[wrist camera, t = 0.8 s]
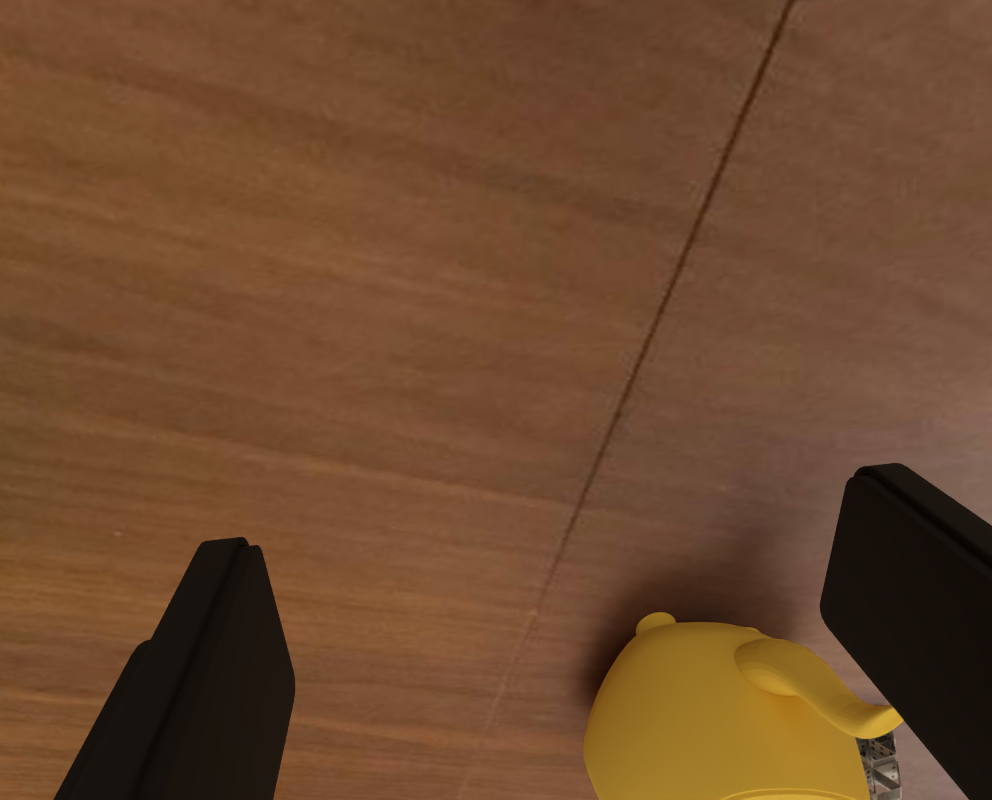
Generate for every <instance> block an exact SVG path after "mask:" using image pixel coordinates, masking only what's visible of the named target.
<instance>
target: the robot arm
mask: <svg viewBox="0 0 992 800" xmlns="http://www.w3.org/2000/svg"><path fill="white" fill-rule="evenodd" d="M820 612H821V615H822V618H823V620H824V623H825V624H826V626H827V627H828V629H829V630H830V631H831V632H832V633H833V635H834V636H835V637H836V638H837V640H838V641H839V642H840V643H841V644H842V646H843V647H844V648H845V649H846V650H847V652H848V653H849V654H850V655H851V657H852V658H853V659H854V660H855V661H856V663H857V664H858V665H859V666H860V668H861V669H862V670H863V671H864V672H865V674H866V675H867V676H868V677H869V678H870V680H871V681H872V682H873V683H874V685H875V686H876V687H877V688H878V689H879V691H880V692H881V693H882V694H883V695H884V697H885V698H886V699H887V700H888V702H889V703H890V704H891V705H892V706H893V708H894V709H895V710H896V711H897V713H898V714H899V715H900V716H901V717H902V719H903V720H904V721H905V722H906V723H907V725H908V726H909V727H910V728H911V730H912V731H913V732H914V733H915V734H916V736H917V737H918V738H919V739H920V741H921V742H922V743H923V744H924V745H925V747H926V748H927V749H928V750H929V751H930V753H931V754H932V755H933V756H934V758H935V759H936V760H937V761H938V762H939V764H940V765H941V766H942V767H943V768H944V770H945V771H946V772H947V773H948V775H949V776H950V777H951V778H952V779H953V781H954V782H955V783H956V784H957V786H958V787H959V788H960V789H961V790H962V792H963V793H964V794H965V795H966V796H967V798H968V799H969V800H992V526H991V525H990V524H989V523H987V522H986V521H984V520H983V519H981V518H980V517H978V516H977V515H976V514H974V513H973V512H971V511H970V510H968V509H967V508H965V507H964V506H963V505H961V504H960V503H958V502H957V501H955V500H954V499H953V498H951V497H950V496H948V495H947V494H945V493H944V492H942V491H941V490H940V489H938V488H937V487H935V486H934V485H932V484H931V483H929V482H928V481H927V480H925V479H924V478H922V477H921V476H919V475H918V474H916V473H915V472H914V471H912V470H911V469H909V468H908V467H906V466H904V465H902V464H900V463H891V464H882V465H873V466H864V467H861V468H859V469H858V470H857V471H856V472H855V474H854V477H852V478H850V479H849V480H848V481H847V483H846V486H845V491H844V495H843V500H842V505H841V509H840V514H839V518H838V523H837V528H836V532H835V537H834V541H833V546H832V550H831V555H830V560H829V564H828V569H827V573H826V578H825V582H824V587H823V592H822V596H821V601H820ZM294 697H295V676H294V671H293V667H292V663H291V660H290V656H289V652H288V648H287V644H286V641H285V637H284V633H283V629H282V625H281V622H280V618H279V614H278V610H277V606H276V602H275V599H274V595H273V591H272V587H271V583H270V580H269V576H268V572H267V568H266V564H265V561H264V557H263V553H262V550H261V548H260V547H259V546H258V545H253V546H249V544H248V542H247V540H246V539H245V538H243V537H237V538H228V539H220V540H211V541H204V542H202V543H201V544H200V546H199V547H198V549H197V551H196V553H195V555H194V557H193V559H192V561H191V563H190V565H189V567H188V568H187V570H186V572H185V574H184V576H183V578H182V580H181V582H180V584H179V586H178V588H177V590H176V592H175V594H174V596H173V598H172V599H171V601H170V603H169V605H168V607H167V609H166V611H165V613H164V615H163V617H162V619H161V621H160V623H159V625H158V627H157V628H156V630H155V632H154V634H153V636H152V638H151V640H147V641H144V642H143V643H141V644H140V645H138V646H137V648H136V649H135V651H134V652H133V653H132V655H131V657H130V658H129V660H128V662H127V664H126V666H125V668H124V670H123V671H122V673H121V675H120V677H119V679H118V681H117V683H116V684H115V686H114V688H113V690H112V692H111V694H110V696H109V697H108V699H107V701H106V703H105V705H104V707H103V709H102V711H101V712H100V714H99V716H98V718H97V720H96V722H95V724H94V725H93V727H92V729H91V731H90V733H89V735H88V737H87V738H86V740H85V742H84V744H83V746H82V748H81V750H80V751H79V753H78V755H77V757H76V759H75V761H74V763H73V764H72V766H71V768H70V770H69V772H68V774H67V776H66V777H65V779H64V781H63V783H62V785H61V787H60V789H59V790H58V792H57V794H56V796H55V798H54V800H273V797H274V792H275V788H276V783H277V778H278V773H279V769H280V764H281V759H282V755H283V750H284V745H285V740H286V736H287V731H288V726H289V722H290V717H291V712H292V708H293V703H294Z"/></svg>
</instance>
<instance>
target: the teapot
mask: <svg viewBox="0 0 992 800" xmlns="http://www.w3.org/2000/svg"><path fill="white" fill-rule="evenodd" d="M636 635H637V636H635V637H634V638H633V639H632V640H631V641H630V642H629V643H628V644H627V645H626V646H625V648H624V649H623V650H622V651H621V653H620V654H619V655H618V657H617V659H616V660H615V662H614V663H613V665H612V666H611V668H610V670H609V672H608V673H607V675H606V677H605V679H604V680H603V683H602V685H601V687H600V689H599V691H598V694H597V696H596V699H595V702H594V704H593V707H592V710H591V712H590V715H589V719H588V723H587V727H586V731H585V735H584V739H583V758H584V761H585V764H586V768H587V771H588V774H589V777H590V779H591V782H592V784H593V787H594V789H595V792H596V794H597V796H598V798H599V800H870V794H869V789H868V785H867V781H866V776H865V772H864V768H863V764H862V760H861V756H860V752H859V749H858V746H857V742H856V739H855V737H858V738H861V739H872V738H876V737H880V736H882V735H884V734H886V733H888V732H890V731H891V730H893V729H894V728H896V727H897V726H898V725H899V724H900V723H902V722H903V721H904V720H903V719H902V717H901V716H900V715H899V714H898V713H897V711H896V710H895V709H894V708H893V706H892V705H886V706H875V705H871V704H868V703H865V702H864V701H862V700H861V699H859V698H858V697H856V696H855V695H854V694H853V693H852V692H851V691H850V690H849V689H848V688H847V687H846V685H845V684H844V683H843V682H842V681H841V680H840V678H839V677H838V676H837V675H836V674H835V672H834V671H833V670H832V669H831V668H830V667H829V666H828V665H827V664H826V662H825V661H824V660H822V659H821V658H820V657H819V656H817V655H816V654H815V653H813V652H812V651H811V650H809V649H808V648H806V647H804V646H801V645H799V644H797V643H794V642H792V641H788V640H784V639H774V638H772V637H770V636H767V635H765V634H762V633H760V632H759V631H758V630H757V629H755V628H752V627H741V626H736V625H732V624H725V623H717V622H685V623H676V621H675V619H674V617H673V616H671V615H670V614H668V613H664V612H656V613H652V614H650V615H648V616H646V617H644V618H643V619H642V620H641V621H640V622H639V623H638V625H637V627H636Z"/></svg>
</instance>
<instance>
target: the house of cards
mask: <svg viewBox="0 0 992 800" xmlns="http://www.w3.org/2000/svg"><path fill="white" fill-rule="evenodd" d="M855 739H856V742H857V746H858V749H859V752H860V756H861V760H862V764H863V768H864V772H865V776H866V781H867V782H868V783H869V784H871V785H872V786H874V792H873V791H872V790H870V789H869V788H868V789H869V794H870V800H899V799H901V798H902V787H901V781H900V774H899V767H898V761H896V751H895V739H894V737H893V730H891V731H890V732H888V733H886V734H884V735H882V736H880V737H876V738H872V739H861V738H858V737H855ZM897 773H898V780H899V784H897V783H896V782H894V781H893V780H894V779H897ZM877 784H880V785H881V786H883V787H884V788H886V789H887V790H889V791H887V792H884V793H881V794H877V795H876V791H875V785H877Z"/></svg>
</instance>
